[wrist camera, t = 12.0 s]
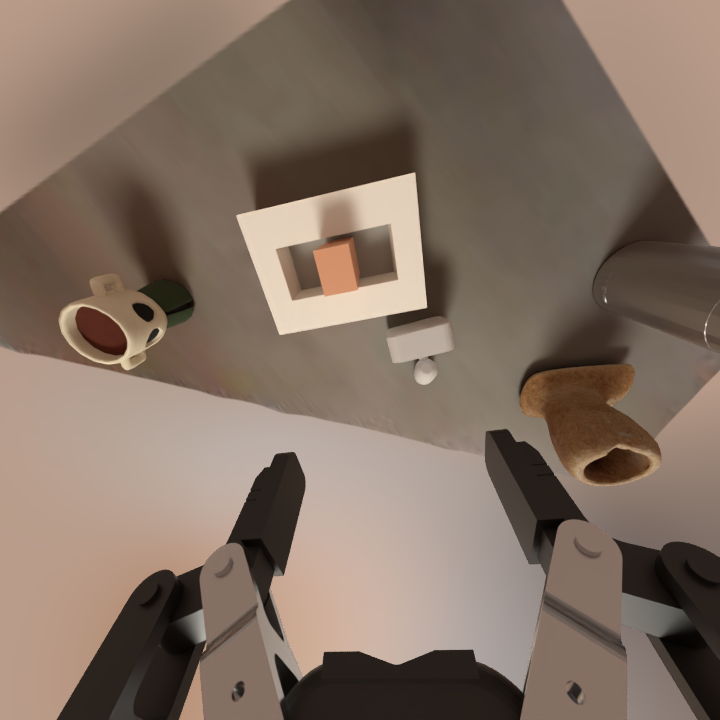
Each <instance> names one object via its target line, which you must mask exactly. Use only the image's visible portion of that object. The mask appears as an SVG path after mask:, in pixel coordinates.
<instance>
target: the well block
mask: <svg viewBox="0 0 720 720" xmlns="http://www.w3.org/2000/svg"><path fill="white" fill-rule="evenodd" d="M236 216H237V219H238V222H239V225H240V227H241V230H242V233H243V236H244V238H245V241H246V244H247V247H248V249H249V252H250V255H251V258H252V260H253V263H254V266H255V269H256V271H257V274H258V277H259V279H260V282H261V285H262V288H263V290H264V293H265V296H266V299H267V301H268V304H269V307H270V310H271V312H272V315H273V318H274V321H275V323H276V326H277V329H278V332H279V334H280V335H283V334H288V333H293V332H299V331H304V330H310V329H315V328H321V327H326V326H331V325H337V324H342V323H348V322H353V321H359V320H364V319H369V318H375V317H380V316H386V315H391V314H397V313H402V312H407V311H413V310H418V309H424V308H427V301H426V290H425V278H424V267H423V256H422V245H421V233H420V222H419V211H418V200H417V188H416V177H415V173H410V174H406V175H402V176H398V177H394V178H390V179H385V180H381V181H377V182H373V183H369V184H365V185H360V186H356V187H352V188H348V189H344V190H340V191H336V192H331V193H327V194H323V195H319V196H315V197H311V198H306V199H302V200H298V201H294V202H290V203H286V204H281V205H277V206H273V207H269V208H265V209H261V210H256V211H252V212H248V213H244V214H240V215H236ZM352 236H353V239H354V244H355V249H356V254H357V260H358V265H359V270H360V276H359V284H358V290H356V291H351V292H346V293H341V294H336V295H331V296H326V297H325V296H324V292H323V288H322V284H321V281H320V277H319V273H318V269H317V265H316V262H315V258H314V254H313V251H314V250H315V249H317V248H318V247H320V246H321V245H323V244H324V243H326V242H329V241H334V240H338V239H343V238H347V237H352Z"/></svg>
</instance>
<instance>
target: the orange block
mask: <svg viewBox="0 0 720 720" xmlns="http://www.w3.org/2000/svg"><path fill="white" fill-rule="evenodd" d="M313 254H314V258H315V262H316V265H317V269H318V273H319V277H320V281H321V284H322V288H323V292H324V296H325V297H326V296H331V295H336V294H341V293H346V292H351V291H356V290H358V284H359V276H360V270H359V265H358V260H357V254H356V249H355V244H354V239H353V236H352V237H347V238H343V239H338V240H334V241H329V242H326V243H324V244H323V245H321V246H320V247H318V248H317V249H315V250H314V251H313Z"/></svg>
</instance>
